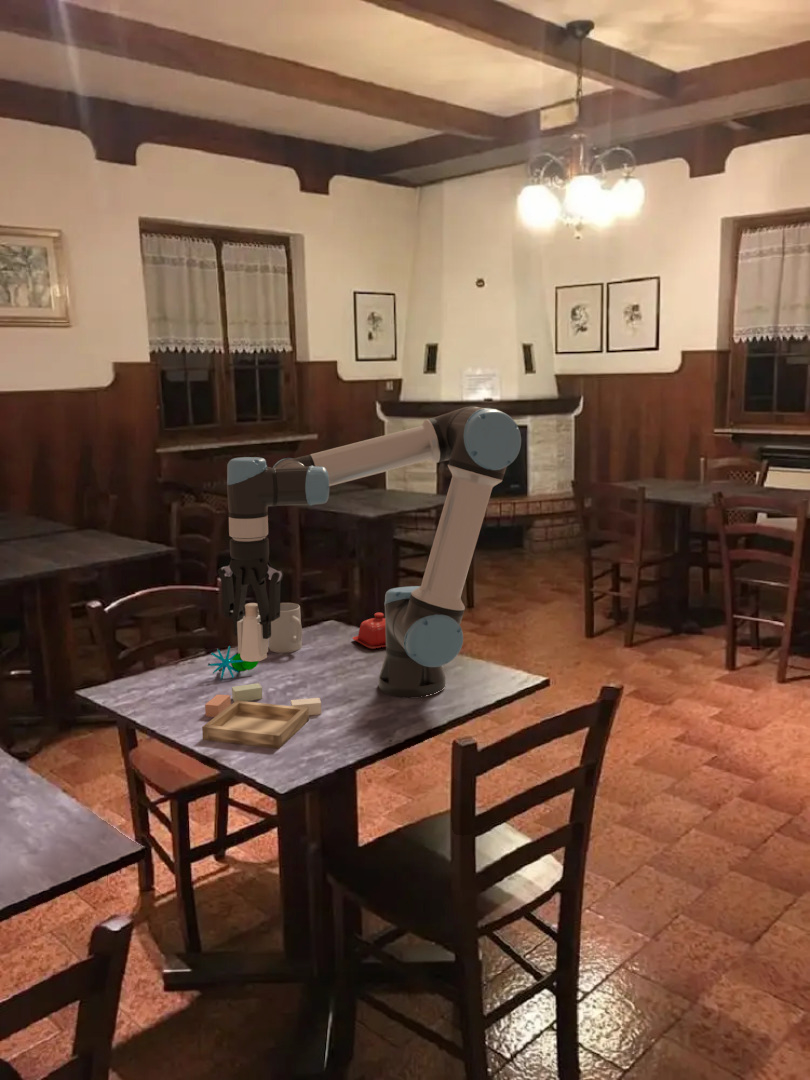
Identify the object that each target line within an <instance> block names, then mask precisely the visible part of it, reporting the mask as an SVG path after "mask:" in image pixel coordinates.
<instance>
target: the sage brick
mask: <svg viewBox="0 0 810 1080" xmlns="http://www.w3.org/2000/svg"><path fill="white" fill-rule="evenodd" d="M231 697H232V700H233V701H234V702H235V701H246V702H251V701H257V700H262V699H263V687H262V685H261V684H260V683H258V682H256V683H250V684H244V685H237V686H236V685H235V686H232V687H231ZM234 702H233V703H234Z"/></svg>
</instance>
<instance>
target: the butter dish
mask: <svg viewBox="0 0 810 1080" xmlns="http://www.w3.org/2000/svg"><path fill="white" fill-rule="evenodd" d="M373 615H374V617H372V618H369V619H366V620H363V621H362V622H361V623H360V626H359V630H358V635H356V636H353V637H351V639H352V640H353V641H355V642H358V643H359V644H361V645H362V646H365V647H367V648H369V649H373V650H376V648H377V649H381V647H382V648H386V630H385V613H383V612H376V613H374V614H373Z"/></svg>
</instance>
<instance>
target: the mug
mask: <svg viewBox="0 0 810 1080" xmlns="http://www.w3.org/2000/svg"><path fill="white" fill-rule="evenodd" d="M301 619H302V617H301V606H300V605H299V604H298V603H295V602H294V603H293V602H280V617H279V618H278V619H276V620H274V621H271V637H270V638H268V650H269V651H271V652H272V653H273V652H274V653H277V654H278V653H280V654H282V653H283V654H287V653H293V652H296V651H300V650H301V649H302V648H303V644H302V643H303V642H302V640H303V639H302V637H303V628H302V621H301Z"/></svg>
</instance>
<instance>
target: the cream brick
mask: <svg viewBox="0 0 810 1080" xmlns="http://www.w3.org/2000/svg"><path fill="white" fill-rule="evenodd" d="M290 704H291V705H290V706H294V707H303V708H309V716H313V715H314V716H316V715H322V701H321V698H320V697H312V698H301V699H291V700H290Z"/></svg>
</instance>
